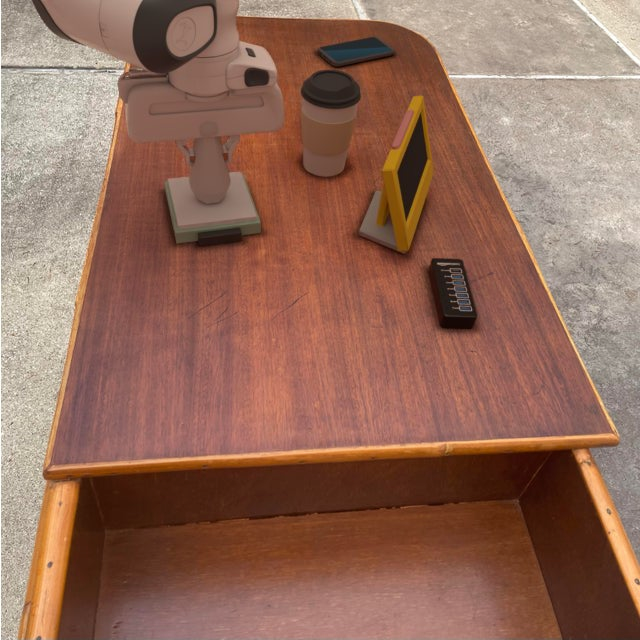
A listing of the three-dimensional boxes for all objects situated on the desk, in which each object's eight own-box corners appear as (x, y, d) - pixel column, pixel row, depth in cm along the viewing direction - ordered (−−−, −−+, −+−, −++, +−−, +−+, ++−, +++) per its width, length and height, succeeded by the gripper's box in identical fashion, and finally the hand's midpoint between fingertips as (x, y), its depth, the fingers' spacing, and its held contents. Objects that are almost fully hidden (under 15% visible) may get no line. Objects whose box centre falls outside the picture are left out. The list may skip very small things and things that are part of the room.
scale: (177, 249, 89) (176, 234, 87) (165, 192, 97) (163, 177, 95) (262, 238, 92) (263, 223, 90) (243, 184, 100) (243, 168, 98)
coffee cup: (284, 162, 105) (288, 75, 94) (322, 142, 110) (330, 57, 98) (325, 187, 101) (334, 99, 90) (362, 166, 106) (375, 79, 95)
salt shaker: (196, 180, 94) (190, 98, 85) (234, 186, 94) (232, 104, 84) (185, 204, 90) (177, 121, 81) (225, 210, 90) (222, 127, 81)
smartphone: (315, 51, 132) (315, 47, 131) (375, 39, 138) (376, 35, 137) (334, 68, 128) (335, 63, 127) (395, 55, 134) (396, 50, 133)
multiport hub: (440, 328, 83) (444, 316, 81) (427, 269, 90) (431, 257, 88) (473, 329, 83) (478, 317, 81) (458, 270, 90) (462, 258, 89)
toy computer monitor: (404, 269, 89) (426, 175, 78) (349, 255, 91) (364, 160, 79) (429, 190, 103) (452, 99, 91) (382, 178, 104) (398, 87, 92)
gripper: (117, 82, 73) (133, 182, 83) (290, 71, 78) (285, 167, 89) (112, 56, 77) (128, 155, 87) (277, 48, 82) (274, 142, 93)
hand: (208, 161), depth 88 cm, fingers closed on salt shaker, 3 cm apart
